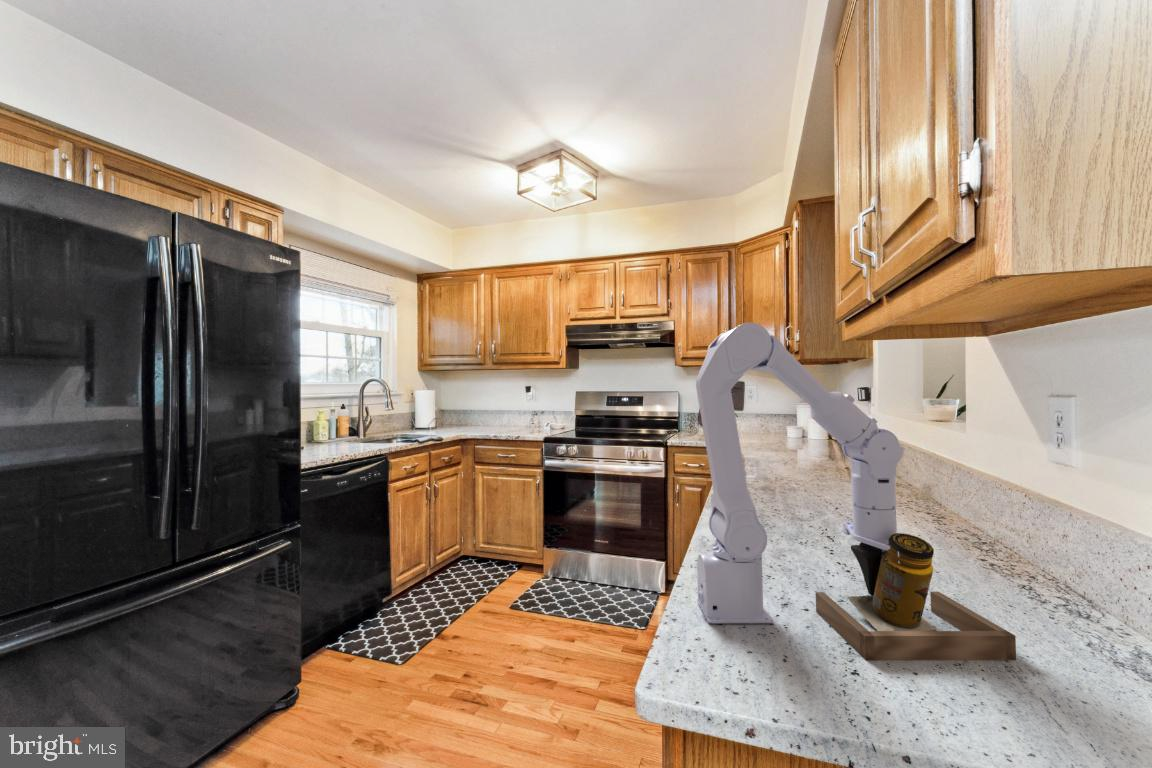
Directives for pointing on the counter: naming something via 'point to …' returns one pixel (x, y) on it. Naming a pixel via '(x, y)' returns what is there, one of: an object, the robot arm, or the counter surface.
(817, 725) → the counter surface
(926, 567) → the condiment
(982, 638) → the box
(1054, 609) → the counter surface
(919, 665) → the counter surface
